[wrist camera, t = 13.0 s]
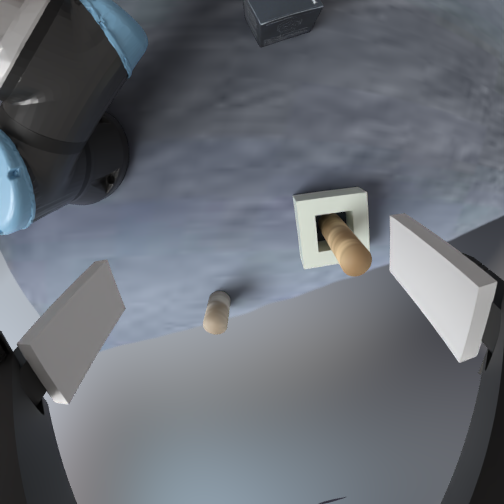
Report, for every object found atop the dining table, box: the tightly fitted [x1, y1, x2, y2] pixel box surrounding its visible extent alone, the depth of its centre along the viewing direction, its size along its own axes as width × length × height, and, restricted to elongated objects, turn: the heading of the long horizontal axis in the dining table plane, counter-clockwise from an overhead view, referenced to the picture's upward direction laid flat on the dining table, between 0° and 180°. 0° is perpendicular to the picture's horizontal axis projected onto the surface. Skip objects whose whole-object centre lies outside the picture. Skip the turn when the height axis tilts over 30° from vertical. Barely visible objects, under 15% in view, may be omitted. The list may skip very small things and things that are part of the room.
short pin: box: [203, 291, 231, 334], centre depth 48 cm, size 4×4×7 cm
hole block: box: [293, 187, 370, 269], centre depth 44 cm, size 10×10×4 cm
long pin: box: [318, 213, 372, 276], centre depth 39 cm, size 4×4×14 cm
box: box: [243, 0, 323, 47], centre depth 29 cm, size 8×6×11 cm
